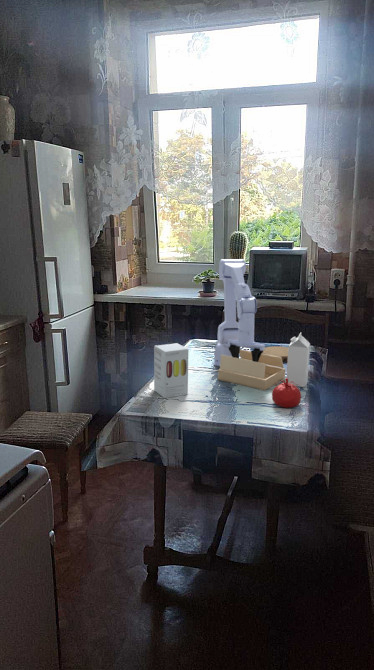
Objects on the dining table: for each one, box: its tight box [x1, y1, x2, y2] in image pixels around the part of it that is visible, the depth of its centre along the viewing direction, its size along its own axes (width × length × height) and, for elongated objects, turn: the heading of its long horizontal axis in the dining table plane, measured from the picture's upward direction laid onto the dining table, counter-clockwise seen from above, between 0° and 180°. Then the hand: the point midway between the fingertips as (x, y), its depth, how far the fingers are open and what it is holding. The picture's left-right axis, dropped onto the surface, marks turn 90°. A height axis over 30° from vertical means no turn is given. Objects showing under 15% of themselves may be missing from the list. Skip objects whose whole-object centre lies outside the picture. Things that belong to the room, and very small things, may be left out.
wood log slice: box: [262, 345, 288, 363], centre depth 225 cm, size 16×16×3 cm
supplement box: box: [153, 342, 189, 399], centre depth 179 cm, size 10×9×17 cm
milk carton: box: [286, 332, 311, 388], centre depth 189 cm, size 7×7×19 cm
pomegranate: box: [271, 377, 302, 409], centre depth 170 cm, size 10×10×9 cm
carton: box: [217, 364, 286, 391], centre depth 195 cm, size 20×17×4 cm
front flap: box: [219, 355, 266, 379], centre depth 188 cm, size 19×6×1 cm
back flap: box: [239, 348, 285, 369], centre depth 199 cm, size 19×6×1 cm
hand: (245, 366), depth 189 cm, fingers open, 7 cm apart
